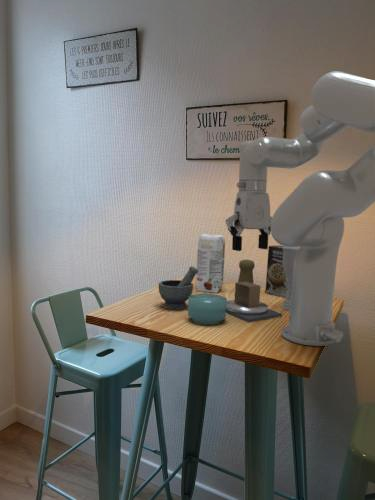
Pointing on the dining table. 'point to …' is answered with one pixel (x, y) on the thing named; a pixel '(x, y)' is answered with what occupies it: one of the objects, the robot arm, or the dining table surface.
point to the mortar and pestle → (177, 290)
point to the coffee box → (276, 273)
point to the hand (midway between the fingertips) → (250, 249)
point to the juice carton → (210, 263)
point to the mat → (256, 316)
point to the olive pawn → (246, 271)
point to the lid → (247, 300)
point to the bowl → (207, 308)
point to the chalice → (288, 270)
